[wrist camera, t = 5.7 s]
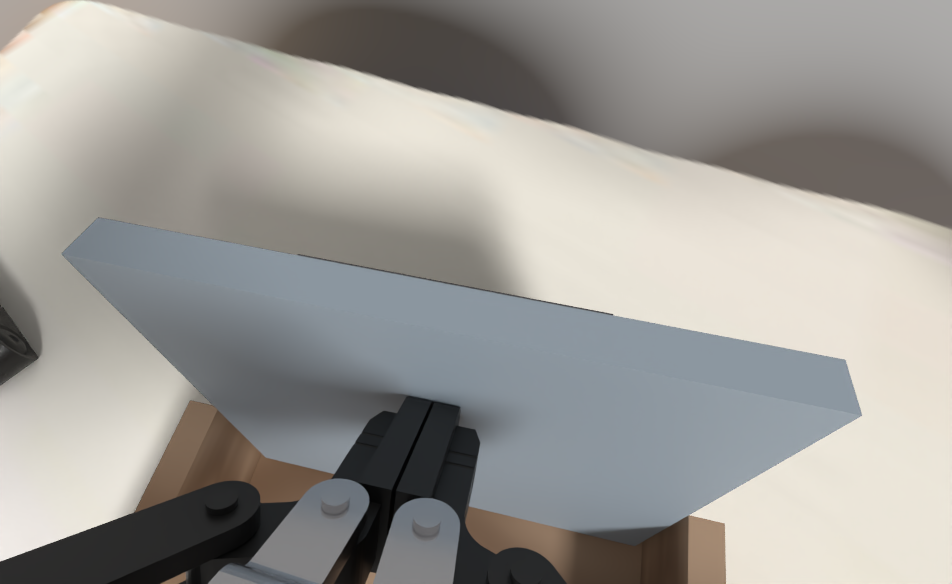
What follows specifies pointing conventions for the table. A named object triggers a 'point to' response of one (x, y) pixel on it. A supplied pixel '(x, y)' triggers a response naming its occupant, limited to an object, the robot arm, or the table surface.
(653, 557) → the wooden tray
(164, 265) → the blue-grey flat rectangular panel
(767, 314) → the table surface
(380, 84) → the table surface
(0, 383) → the portable electronic device stand
